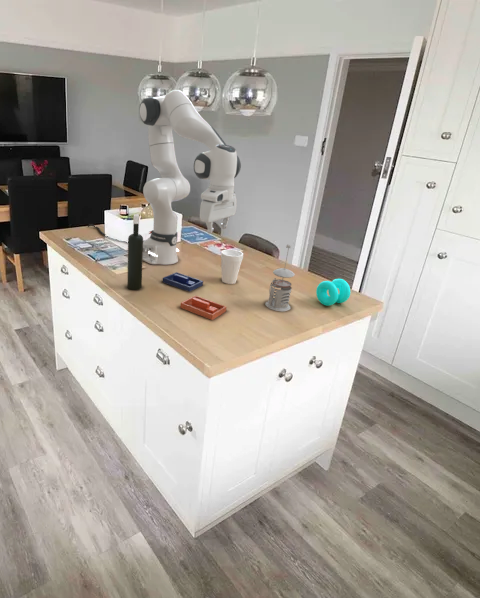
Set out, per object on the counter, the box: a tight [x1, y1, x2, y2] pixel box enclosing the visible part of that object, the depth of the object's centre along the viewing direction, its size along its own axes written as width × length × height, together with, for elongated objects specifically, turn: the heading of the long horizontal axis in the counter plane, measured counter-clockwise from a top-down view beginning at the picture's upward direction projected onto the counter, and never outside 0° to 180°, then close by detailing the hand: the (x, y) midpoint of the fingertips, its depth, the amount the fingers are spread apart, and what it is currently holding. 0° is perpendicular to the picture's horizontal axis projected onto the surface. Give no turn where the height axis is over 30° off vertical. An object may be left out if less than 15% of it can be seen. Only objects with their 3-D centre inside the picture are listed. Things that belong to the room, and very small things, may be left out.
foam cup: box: [220, 249, 244, 285], centre depth 181 cm, size 10×9×13 cm
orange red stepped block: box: [192, 298, 217, 314], centre depth 155 cm, size 10×3×3 cm, turn 53°
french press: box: [265, 243, 296, 312], centre depth 157 cm, size 10×12×25 cm
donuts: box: [315, 278, 351, 307], centre depth 167 cm, size 10×10×10 cm
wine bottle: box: [126, 213, 144, 291], centre depth 163 cm, size 6×6×30 cm
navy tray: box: [162, 272, 204, 292], centre depth 176 cm, size 14×10×2 cm
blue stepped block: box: [173, 274, 195, 287], centre depth 176 cm, size 10×3×3 cm, turn 54°
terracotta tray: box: [179, 295, 228, 321], centre depth 155 cm, size 14×10×2 cm
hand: (217, 230), depth 156 cm, fingers open, 8 cm apart
